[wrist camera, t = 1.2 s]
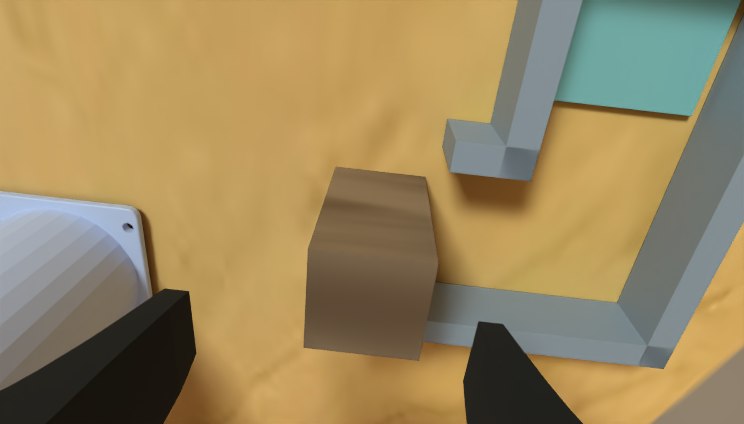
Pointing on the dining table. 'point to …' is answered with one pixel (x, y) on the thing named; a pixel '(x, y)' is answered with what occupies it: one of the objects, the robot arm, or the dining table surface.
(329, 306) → the block
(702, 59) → the pad
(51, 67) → the dining table surface
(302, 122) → the dining table surface
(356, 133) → the dining table surface
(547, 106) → the grey open rectangular frame
